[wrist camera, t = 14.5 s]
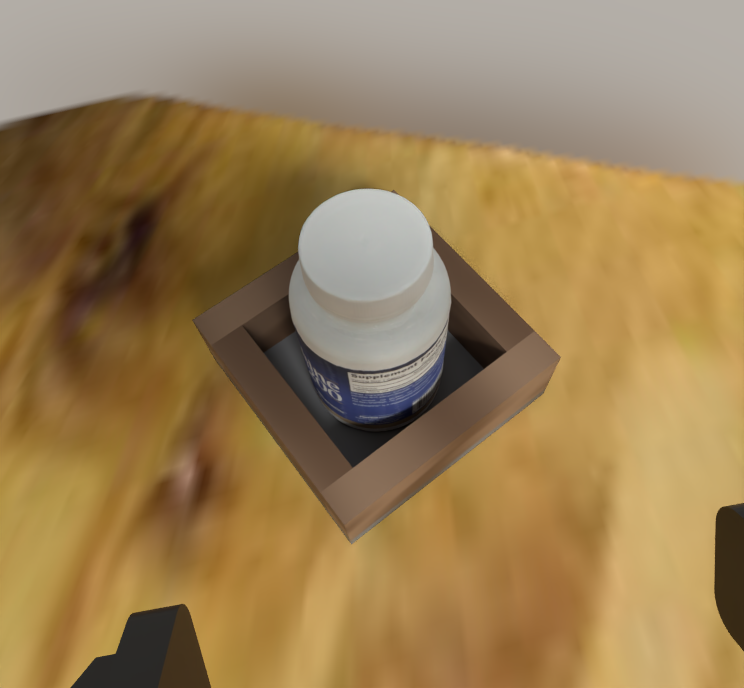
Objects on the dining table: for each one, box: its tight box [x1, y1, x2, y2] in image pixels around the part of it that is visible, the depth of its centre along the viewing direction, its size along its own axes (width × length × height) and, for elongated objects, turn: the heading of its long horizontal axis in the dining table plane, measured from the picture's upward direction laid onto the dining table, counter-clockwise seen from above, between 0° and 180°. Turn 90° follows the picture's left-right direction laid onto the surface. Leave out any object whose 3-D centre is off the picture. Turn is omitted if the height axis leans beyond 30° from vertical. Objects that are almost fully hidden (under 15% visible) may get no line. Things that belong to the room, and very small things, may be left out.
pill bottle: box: [289, 189, 451, 432], centre depth 25 cm, size 5×5×10 cm
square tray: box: [193, 190, 561, 544], centre depth 28 cm, size 10×10×4 cm
